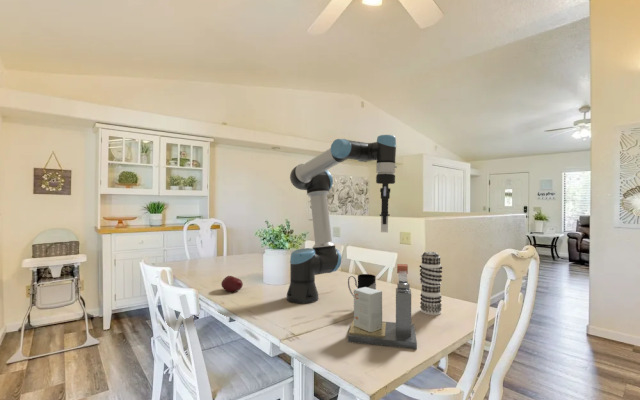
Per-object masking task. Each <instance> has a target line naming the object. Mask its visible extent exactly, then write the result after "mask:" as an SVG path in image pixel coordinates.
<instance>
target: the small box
mask: <svg viewBox="0 0 640 400" xmlns="http://www.w3.org/2000/svg"><path fill="white" fill-rule="evenodd" d="M353 295H354V297H353V320H354V326H356V327H358V328H360V329H363V330H365V331H368V332H370V333H371V332H374V331H376V330H379V329H381V328H382V321H383V291H382V290H379V289H376V290H375V289H371V288H368V287H363V288H358V289H357V288H354V289H353Z"/></svg>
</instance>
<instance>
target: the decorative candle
mask: <svg viewBox="0 0 640 400" xmlns="http://www.w3.org/2000/svg"><path fill="white" fill-rule="evenodd" d="M420 257H421V265H418V266H419V268H420V269H419V272H420V273H419V276H420V278H419V280H420V285H421V289H420V290H421V293H420V295H419V296H420V299H419V300H420V302H419V303H420V306H419V307H420V312H421V313H423V314H425V315H429V316H430V315H431V316H438V315H441V314H442V310H443V309H442V306H443V305H442V303H441V302H442V295H441V287H442V283H441V282H442V281H443V279H442V278H443V275H441V274H442V273H443V271H442V269H443V266H441V265H442V264H441V256H440V254H439V253H438V252H435V251H424V252H423V253H422V254H421V255H420Z"/></svg>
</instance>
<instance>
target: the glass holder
mask: <svg viewBox="0 0 640 400" xmlns="http://www.w3.org/2000/svg"><path fill="white" fill-rule="evenodd" d="M376 277H377V276H376V275H374V274H369V273H364V274H363V273H361V274H358V275H357V278H356V277H355V276H353V275H350V276H349V277H348V279H347V285H348V286H347V287H348V290H349V293H350V294H351V296H353V298H354V292H353V291H352V289H351V286H350V279H351V278H353V279H354V282H355V283H354V285H355V287H356V289H358V288H363V287H368V288H371V289H375V290H377V283H376V281H377V280H376Z"/></svg>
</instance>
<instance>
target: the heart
mask: <svg viewBox="0 0 640 400" xmlns="http://www.w3.org/2000/svg"><path fill="white" fill-rule="evenodd" d="M222 279H223V280H221V288H222V289H224V290H225V291H226V292H229V293H235V291H236V292H238V291H240V290H241V289H242V288H243V286H244V285H243V284H244V283H243V280H241V278H238V277H235V276H232V275H227V276H225V277H224V278H222Z"/></svg>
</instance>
